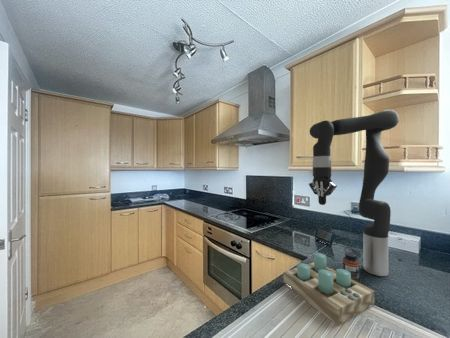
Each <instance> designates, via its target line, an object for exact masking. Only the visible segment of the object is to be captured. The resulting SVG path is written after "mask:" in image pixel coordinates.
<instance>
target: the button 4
mask: <svg viewBox="0 0 450 338" xmlns="http://www.w3.org/2000/svg"><path fill="white" fill-rule="evenodd" d="M335 271H336V284H338V285H339V286H341V287H343V288H345V289H348V288H350V287H351V273H350V272H349V271H347V270H345V269H343V268H336V269H335Z"/></svg>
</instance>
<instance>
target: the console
mask: <svg viewBox="0 0 450 338" xmlns="http://www.w3.org/2000/svg"><path fill="white" fill-rule="evenodd" d="M307 265H309V266H310V280H308V281H306V282H303V281H302V280H300V279H299V278H297V267H295V268H291V269H288V270H285V271H283V284H284V283H286V284H288V285H289V286H291V288H292V290H293V291H292V290H291V291H292V292H294V293H295V294H296V295H297V296H299V297H300V298H302V299H303V300H304V301H306V302H307V303H308V304H309V305H311V306H312V307H313V308H315V309H316V310H317V311H318V312H320V313H321V314H322V315H324V316H325V317H326V318H327V319H329V320H330V321H332V322H333V323H334V324H335V325H337V326H340V325H342V324H344V323H346V322H347V321H349V320H351V319H352V318H354V317H356V316H358V315H359V314H361V313H362V312H365V311H366V310H368V309H369V308H368V307H369V306H370V305H373V304H374V305H375V290H373V289H372V288H370V287H367V286H366V285H364V284H362V283H360V282H356V281H354V280H352V279H351V287H350V288H348V289H345V288H343V287H341V286H339V285H338V284H336V270H335V269H333V268H330V267H328V266H327V270H328V271H331V272H332V273H333V293H331V294H326V293H323V292H321V291H320V290H319V289H318V271H316V270H315V269H314V261H313V262H310V263H307ZM374 305H373V306H374ZM367 308H368V309H367Z"/></svg>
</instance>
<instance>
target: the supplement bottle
mask: <svg viewBox="0 0 450 338" xmlns="http://www.w3.org/2000/svg"><path fill="white" fill-rule="evenodd" d="M342 269H345V270H347V271H349V272H350V273H351V279H352V280H354V281H356V282H358V283H360V261H359V260H358V259H357V254H355V253H354V252H350V251H347V252H345V255H344V257H342Z"/></svg>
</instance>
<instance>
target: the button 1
mask: <svg viewBox="0 0 450 338" xmlns="http://www.w3.org/2000/svg"><path fill="white" fill-rule="evenodd" d="M307 264H308V263H307ZM307 264H306V263H302V262H300V263H297V265H296V268H297V278H299V279H300V280H302V281H303V282H306V281H308V280H310V266H309V265H307Z"/></svg>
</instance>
